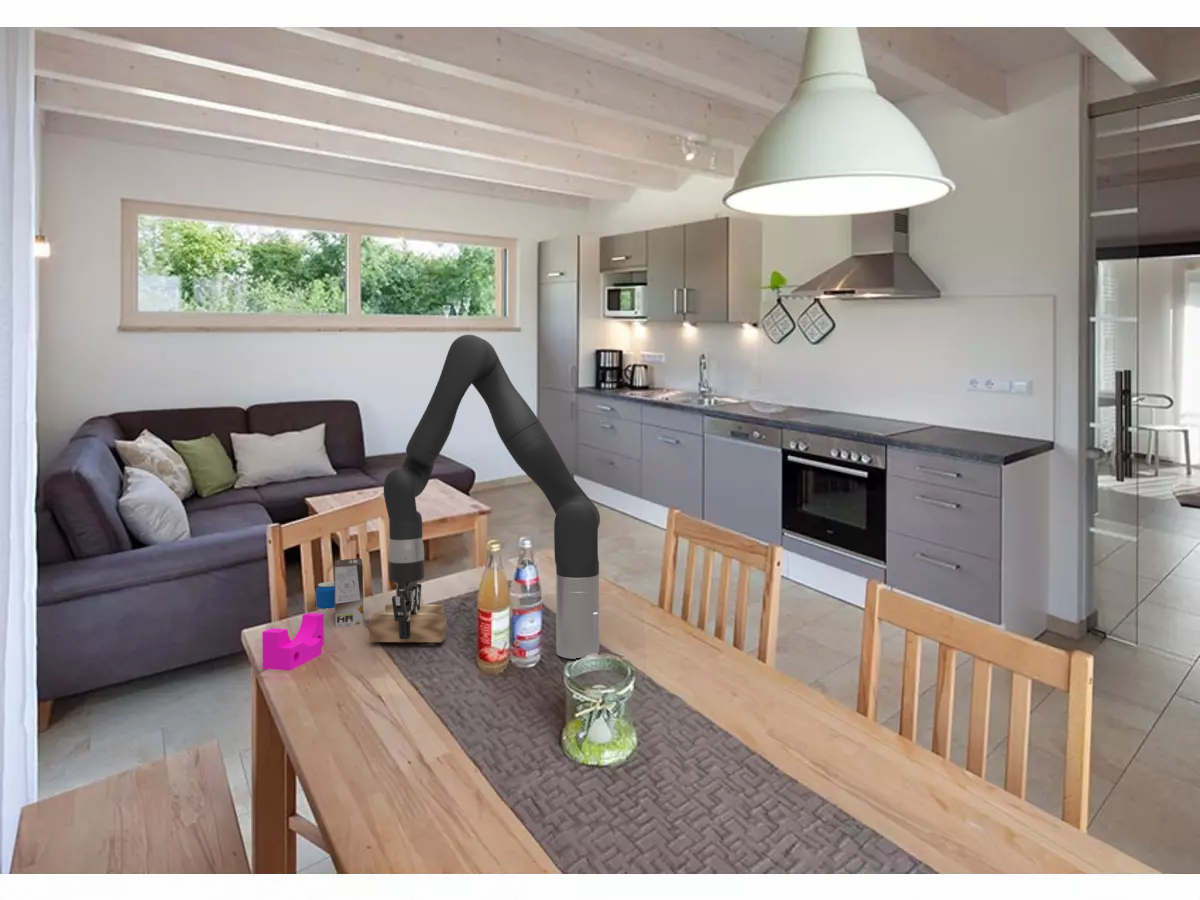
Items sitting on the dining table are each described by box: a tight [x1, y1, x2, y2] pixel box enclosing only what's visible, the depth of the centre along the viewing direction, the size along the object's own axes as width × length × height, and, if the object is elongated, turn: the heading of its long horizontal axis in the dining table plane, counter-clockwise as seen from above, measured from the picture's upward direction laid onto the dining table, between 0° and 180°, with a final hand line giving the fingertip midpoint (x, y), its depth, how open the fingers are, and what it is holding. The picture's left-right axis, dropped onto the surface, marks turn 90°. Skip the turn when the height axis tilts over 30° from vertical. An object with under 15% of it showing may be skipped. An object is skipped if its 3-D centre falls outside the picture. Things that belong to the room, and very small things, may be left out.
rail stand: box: [372, 603, 445, 617], centre depth 167 cm, size 16×13×5 cm
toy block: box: [261, 612, 325, 671], centre depth 147 cm, size 15×6×8 cm, turn 168°
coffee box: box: [334, 558, 364, 628], centre depth 169 cm, size 9×6×16 cm
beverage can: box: [315, 580, 335, 610], centre depth 177 cm, size 6×6×12 cm
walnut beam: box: [368, 614, 448, 643], centre depth 155 cm, size 16×4×5 cm, turn 86°
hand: (408, 635), depth 155 cm, fingers closed on walnut beam, 4 cm apart
